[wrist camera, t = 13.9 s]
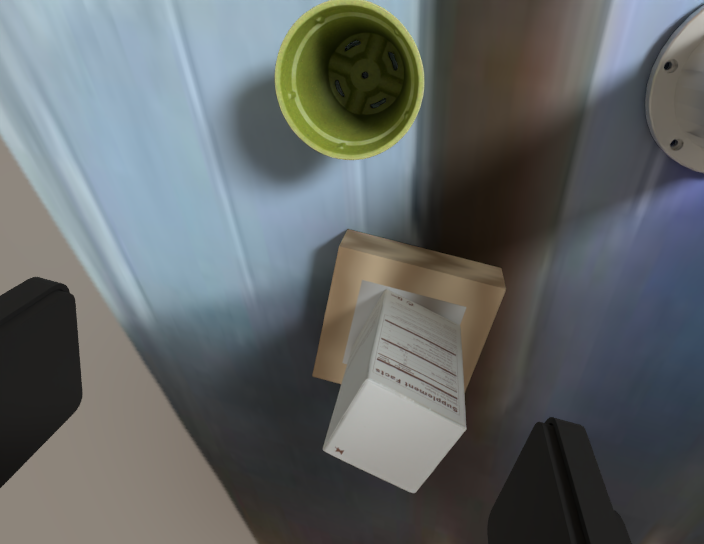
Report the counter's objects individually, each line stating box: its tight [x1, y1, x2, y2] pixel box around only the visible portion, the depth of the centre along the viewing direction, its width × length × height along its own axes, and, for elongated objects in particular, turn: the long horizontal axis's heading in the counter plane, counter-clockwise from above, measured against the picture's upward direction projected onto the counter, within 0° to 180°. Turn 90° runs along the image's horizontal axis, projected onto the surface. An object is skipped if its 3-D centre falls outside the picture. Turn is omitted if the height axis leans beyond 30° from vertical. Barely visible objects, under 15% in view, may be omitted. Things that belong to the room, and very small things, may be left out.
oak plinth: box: [312, 229, 506, 393], centre depth 45 cm, size 14×14×4 cm
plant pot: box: [275, 0, 424, 160], centre depth 34 cm, size 9×9×9 cm
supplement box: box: [323, 289, 467, 493], centre depth 38 cm, size 7×7×13 cm
